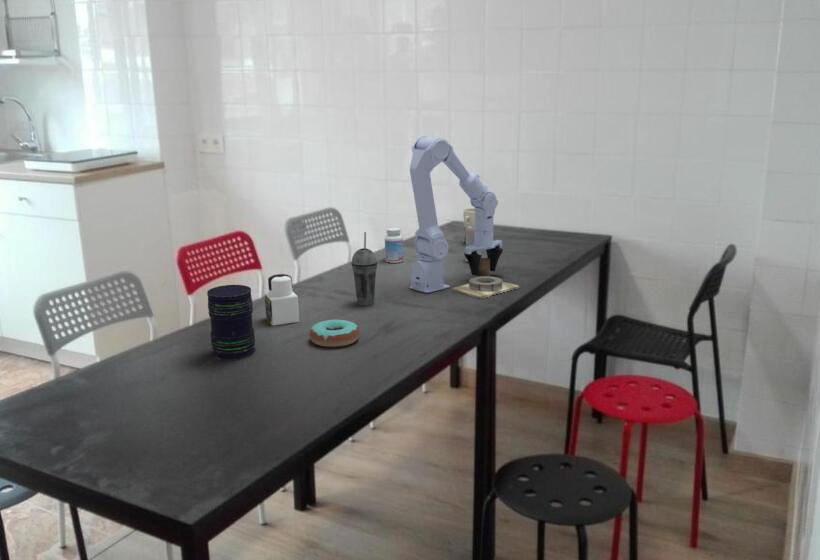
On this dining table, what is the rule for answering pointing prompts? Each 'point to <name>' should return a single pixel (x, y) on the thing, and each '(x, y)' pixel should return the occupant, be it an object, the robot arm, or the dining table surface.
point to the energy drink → (471, 237)
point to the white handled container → (281, 301)
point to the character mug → (469, 218)
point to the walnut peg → (484, 267)
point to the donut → (334, 333)
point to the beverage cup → (364, 274)
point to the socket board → (483, 294)
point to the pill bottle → (393, 246)
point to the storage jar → (231, 322)
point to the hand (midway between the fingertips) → (483, 273)
